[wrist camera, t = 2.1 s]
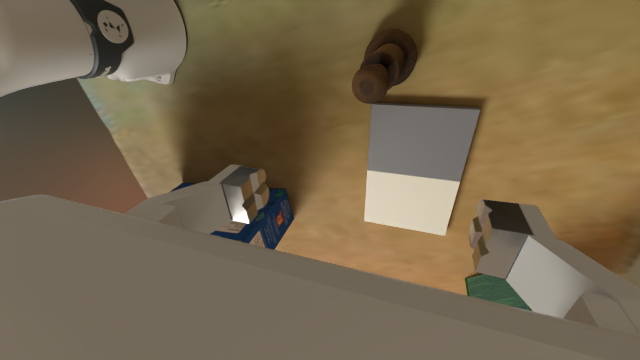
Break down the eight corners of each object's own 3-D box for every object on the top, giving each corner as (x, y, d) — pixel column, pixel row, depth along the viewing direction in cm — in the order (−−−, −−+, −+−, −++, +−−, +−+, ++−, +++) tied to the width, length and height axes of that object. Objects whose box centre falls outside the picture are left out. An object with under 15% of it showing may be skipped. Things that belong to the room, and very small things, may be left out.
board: (365, 216, 50) (364, 220, 49) (373, 102, 39) (371, 104, 38) (444, 231, 46) (444, 235, 45) (478, 107, 35) (480, 109, 34)
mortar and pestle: (356, 55, 36) (312, 83, 22) (395, 17, 33) (372, 19, 18) (386, 93, 38) (362, 142, 23) (427, 59, 34) (429, 93, 20)
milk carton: (464, 278, 50) (490, 452, 30) (516, 264, 45) (589, 464, 25) (489, 307, 52) (529, 491, 32) (542, 298, 47) (629, 510, 27)
